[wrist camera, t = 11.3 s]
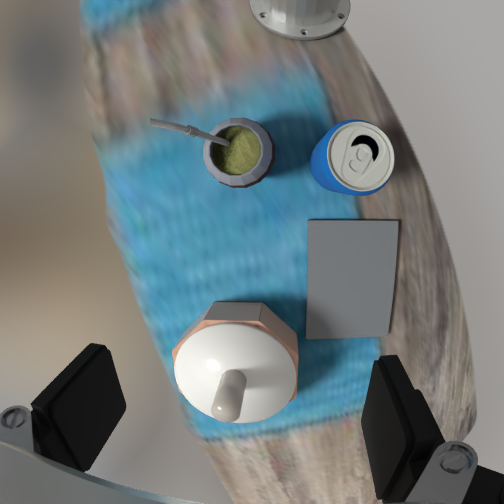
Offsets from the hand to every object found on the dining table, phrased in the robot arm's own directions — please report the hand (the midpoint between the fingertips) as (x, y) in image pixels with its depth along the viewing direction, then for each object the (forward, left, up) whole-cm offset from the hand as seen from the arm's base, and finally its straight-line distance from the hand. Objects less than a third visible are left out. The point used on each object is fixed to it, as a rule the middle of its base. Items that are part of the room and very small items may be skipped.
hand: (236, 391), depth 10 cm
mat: (+5, +10, -28) cm, 30 cm away
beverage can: (-9, +8, -28) cm, 31 cm away
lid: (+15, -4, -23) cm, 28 cm away
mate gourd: (-10, -3, -28) cm, 30 cm away
